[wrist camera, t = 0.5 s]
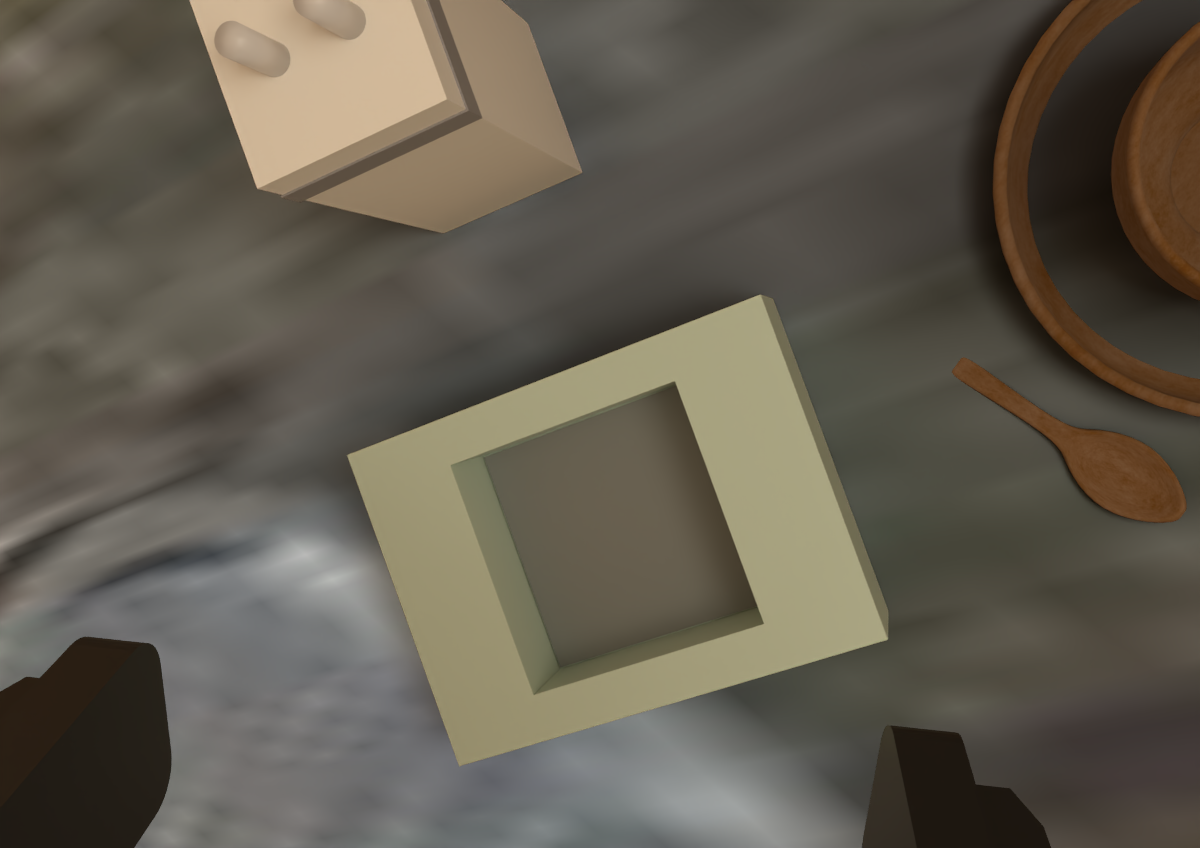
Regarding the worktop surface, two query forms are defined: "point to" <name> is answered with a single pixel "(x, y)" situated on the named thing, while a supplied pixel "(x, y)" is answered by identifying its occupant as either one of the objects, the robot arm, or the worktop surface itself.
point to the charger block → (389, 104)
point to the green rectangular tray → (622, 536)
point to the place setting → (1151, 223)
